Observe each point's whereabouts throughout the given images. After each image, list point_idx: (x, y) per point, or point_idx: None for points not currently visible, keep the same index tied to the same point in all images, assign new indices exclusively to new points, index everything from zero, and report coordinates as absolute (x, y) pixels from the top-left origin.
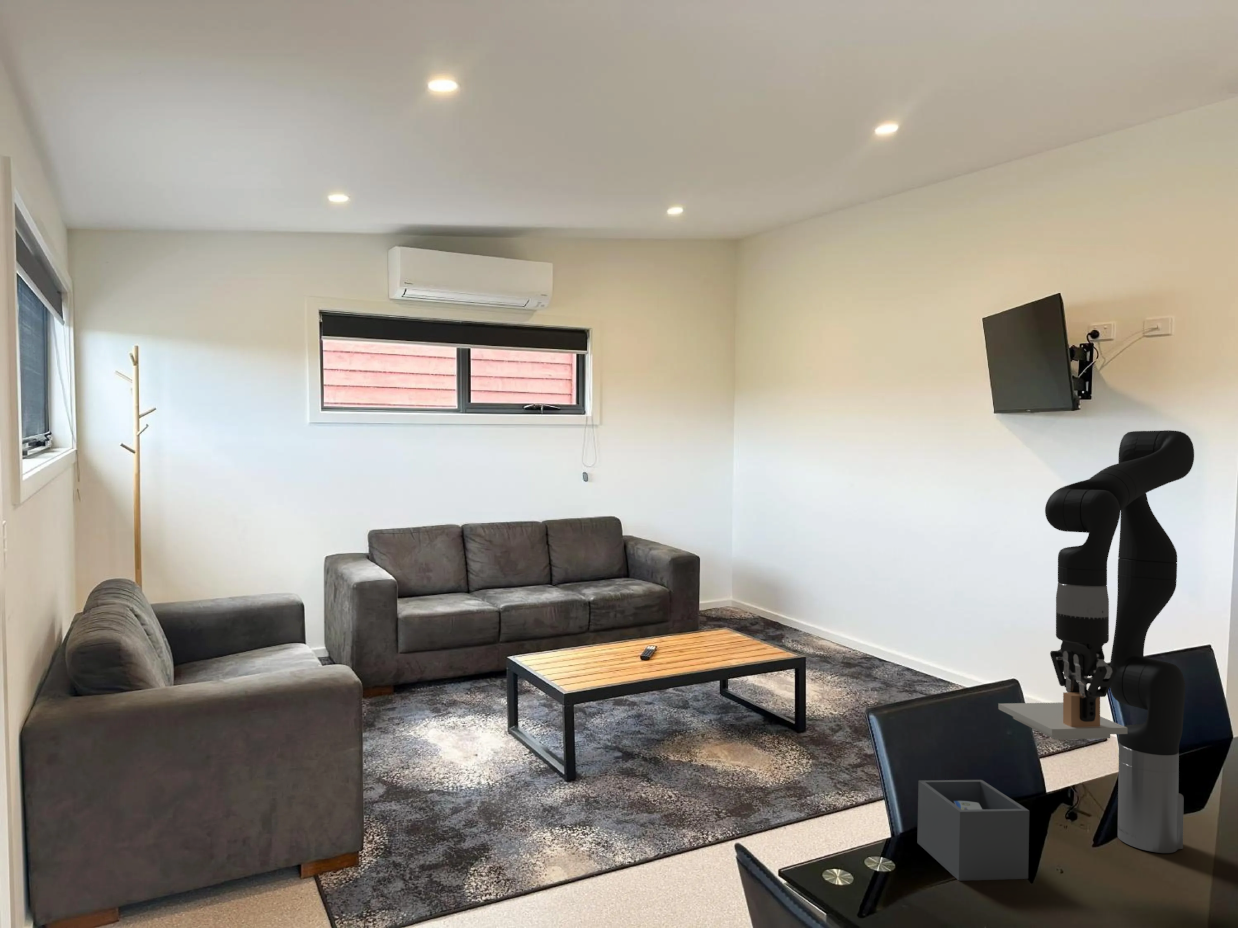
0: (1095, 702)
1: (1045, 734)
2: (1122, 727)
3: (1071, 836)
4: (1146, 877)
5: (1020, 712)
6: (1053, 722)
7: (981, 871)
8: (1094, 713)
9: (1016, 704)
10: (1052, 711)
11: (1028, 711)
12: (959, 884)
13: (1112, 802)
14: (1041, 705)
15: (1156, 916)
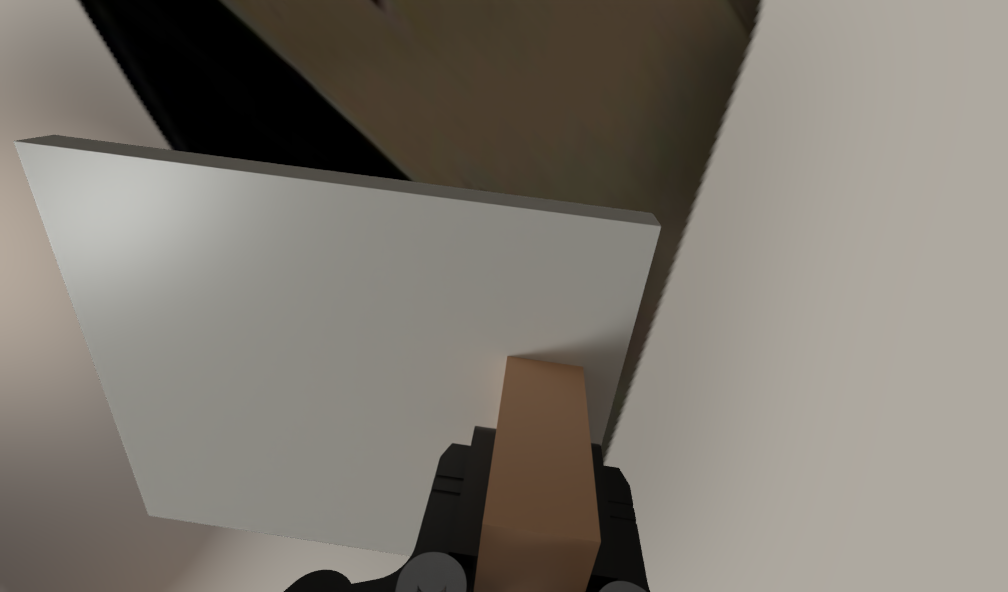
0: (643, 570)
1: None
2: (645, 255)
3: (318, 15)
4: (553, 7)
5: (300, 527)
6: None
7: None
8: (630, 504)
9: (150, 458)
10: (273, 391)
11: (280, 490)
12: None
13: None
14: (144, 359)
15: (699, 155)
